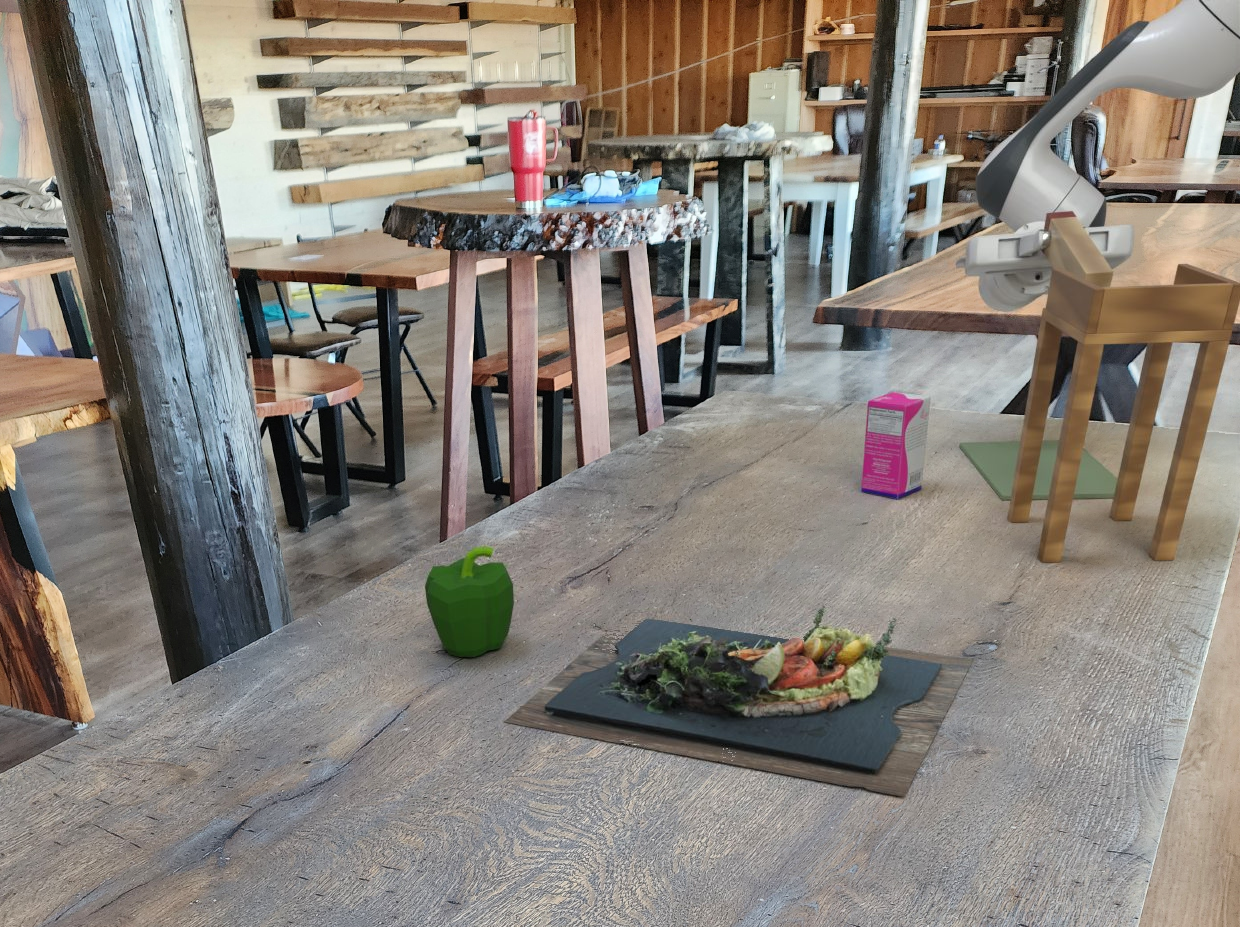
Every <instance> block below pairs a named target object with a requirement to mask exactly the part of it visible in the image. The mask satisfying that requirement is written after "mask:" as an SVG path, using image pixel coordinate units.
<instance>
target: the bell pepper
mask: <svg viewBox="0 0 1240 927" xmlns="http://www.w3.org/2000/svg"><path fill="white" fill-rule="evenodd" d="M493 552H494V547H491V546H486V545H484V546H478V547H477V546H476V547H474V548H473V549H471V550H470V551H468V552H467V553H466V554H465V556H464V557H462V558H460V559H458V560H456V561H455V562H452V563H450V564H448V565H433V566H432V567H431V569H430V571H429V573H428V575H427V578H426V581H425V584H424V591H425V592H424V593H425V596H426V597H425V598H426V606H427V607H428V612H429V614H430V617H431V620H432V623H433V625H434V628H435V630H436V634H437V635H438V638H439V640H440V643H441V644H442V645H443V648H444V649H445V650H446V651H447V653H448V654H449V655H452V656H455V657H459V658H475V657H478V656H481V655H483V654H486V652H488V651H494V650H499V649H501V648H502V647H503V645H504V643H505V642H506V639H507V637H508V636H509V631H510V628H511V624H512V622H511V621H512V617H513V613H514V612H513V611H514V606H515V605H514V604H515V595H514V583H513V581H512V578H511V576H510V574H509V572H508V570H507V568H506V565H505V564H504V562H487V563H484V564H481V565H480V564H478V563H477V562H475V561H476V560H477V559H478V558H479V557H486V558H489V559H491V558H492V555H493Z"/></svg>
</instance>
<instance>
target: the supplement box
mask: <svg viewBox="0 0 1240 927" xmlns="http://www.w3.org/2000/svg"><path fill="white" fill-rule="evenodd" d="M931 399H932V397H931V396H930V395H922V394H913V393H912V394H911V393H904V392H898V391H891V392H889V393H887V394H883V395H881V396H877V397H875V398H872V399H870V400H868V401H867V407H866V408H867V409H866V410H867V411H866V423H865V425H866V426H865V435H864V438H865V439H864V449H863V450H864V451H863V452H864V453H863V462H862V476H861V477H862V478H861V489H860V492H862V493H865V494H870V495H874V494H875V495H876V496H880V497H886V498H890V499H894V500H900V499H902V498H904V497H906V496H909V495H911V494H913V493H916V492H918V491H921V490H922V489H923V477H924V476H923V475H924V467H925V456H926V447H927V437H928V428H929V418H930V417H929V416H930V409H931Z"/></svg>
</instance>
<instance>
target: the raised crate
mask: <svg viewBox="0 0 1240 927" xmlns="http://www.w3.org/2000/svg"><path fill="white" fill-rule="evenodd" d="M1045 303H1046V304H1045V307H1043V308H1042V311H1041V317H1040V323H1039V329H1038V335H1037V340H1036V346H1035V352H1034V356H1033V357H1034V358H1033V362H1032V369H1031V370H1032V371H1031V375H1030V380H1029V381H1030V383H1029V387H1028V393H1027V398H1026V404H1025V411H1024V417H1023V422H1022V430H1021V435H1020V440H1019V441H1020V445H1019V451H1018V457H1017V463H1016V469H1015V475H1014V481H1013V487H1012V492H1011V498H1010V500H1009V503H1008V504H1009V505H1008V509H1007V510H1008V511H1007V516H1006V517H1007V519H1008V520H1009V522H1010V523H1029V518H1030V513H1031V508H1032V501H1033V500H1032V497H1033V491H1034V486H1035V480H1036V475H1037V469H1038V464H1039V458H1040V453H1041V447H1042V442H1043V441H1044V436H1045V429H1046V424H1047V420H1048V419H1047V418H1048V414H1049V409H1050V402H1051V396H1052V391H1053V387H1054V380H1055V375H1056V369H1057V363H1058V358H1059V352H1060V347H1061V341H1062V336H1063V333H1064V334H1066V335H1067V336H1069V337H1070V338H1073V339H1074V340H1075V341H1077V344H1076V349H1075V354H1074V359H1073V364H1072V365H1073V366H1072V371H1071V375H1070V380H1069V381H1070V382H1069V386H1068V392H1067V397H1066V402H1065V407H1064V413H1063V418H1062V424H1061V429H1060V434H1059V439H1058V440H1059V444H1058V449H1057V455H1056V460H1055V465H1054V471H1053V476H1052V481H1051V487H1050V492H1049V497H1048V499H1047V503H1046V508H1045V509H1046V510H1045V514H1044V519H1043V524H1042V530H1041V534H1040V540H1039V541H1040V542H1039V546H1038V551H1037V558H1038V559H1039V560H1040V562H1041V563H1061V561H1062V556H1063V551H1064V546H1065V541H1066V536H1067V531H1068V527H1069V526H1068V525H1069V521H1070V516H1071V511H1072V506H1073V505H1072V504H1073V501H1074V499H1073V497H1074V492H1075V487H1076V482H1077V477H1078V472H1079V467H1080V462H1081V457H1082V452H1083V448H1084V447H1085V441H1086V437H1087V436H1086V435H1087V432H1088V427H1089V421H1090V416H1091V411H1092V406H1093V403H1094V402H1093V401H1094V397H1095V391H1096V386H1097V381H1098V376H1099V371H1100V366H1101V362H1102V356H1103V351H1104V346H1105V345H1127V344H1131V345H1132V344H1146V347H1145V351H1144V352H1145V353H1144V356H1143V362H1142V366H1141V371H1140V375H1139V380H1138V384H1137V388H1136V393H1135V398H1134V403H1133V407H1132V411H1131V416H1130V421H1129V425H1128V430H1127V433H1126V434H1127V435H1126V439H1125V442H1124V447H1123V453H1122V456H1121V461H1120V466H1119V470H1118V475H1117V478H1118V479H1117V484H1116V488H1115V493H1114V498H1112V502H1111V507H1110V512H1109V517H1110V518H1111V519H1112V520H1113V521H1116V522H1117V521H1122V522H1123V521H1132V520H1133V516H1134V513H1135V512H1134V511H1135V508H1136V502H1137V498H1138V494H1139V490H1140V486H1141V481H1142V477H1143V472H1144V469H1145V464H1146V460H1147V455H1148V451H1149V446H1150V443H1151V438H1152V434H1153V431H1154V430H1153V429H1154V425H1155V421H1156V417H1157V412H1158V408H1159V404H1160V399H1161V394H1162V390H1163V387H1164V382H1165V376H1166V372H1167V370H1168V364H1169V360H1170V355H1171V352H1172V347H1173V343H1193V342H1195V343H1196V342H1200V343H1199V347H1198V352H1197V356H1196V360H1195V364H1194V367H1193V372H1192V376H1191V379H1190V384H1189V389H1188V392H1187V398H1186V400H1185V404H1184V409H1183V413H1182V417H1181V422H1180V426H1179V429H1178V434H1177V438H1176V442H1175V446H1174V450H1173V453H1172V454H1173V455H1172V458H1171V461H1170V462H1171V463H1170V466H1169V470H1168V474H1167V479H1166V482H1165V487H1164V491H1163V495H1162V500H1161V504H1160V508H1159V511H1158V516H1157V520H1156V524H1155V528H1154V532H1153V536H1152V540H1151V544H1150V548H1149V552H1148V555H1149V556H1150V557H1151V558H1152V560H1154V561H1174V559H1175V556H1176V553H1177V548H1178V544H1179V541H1180V536H1181V533H1182V530H1183V525H1184V521H1185V517H1186V515H1187V514H1186V513H1187V510H1188V505H1189V501H1190V497H1191V494H1192V490H1193V486H1194V482H1195V478H1196V474H1197V470H1198V467H1199V462H1200V459H1201V455H1202V451H1203V447H1204V443H1205V439H1206V435H1207V431H1208V428H1209V424H1210V419H1211V415H1212V413H1213V412H1212V411H1213V407H1214V404H1215V400H1216V397H1217V392H1218V388H1219V384H1220V380H1221V377H1222V372H1223V369H1224V365H1225V360H1226V358H1227V353H1228V349H1229V345H1230V341H1231V338H1232V334H1233V329H1234V326H1235V322H1236V317H1237V314H1238V310H1239V307H1240V281H1236V280H1233V279H1230V278H1228V277H1225V276H1223V275H1220V274H1216V273H1214V272H1212V271H1208V270H1206V269H1203V268H1200V267H1197V266H1194V265H1191V264H1189V263H1178V264H1177V267H1176V271H1175V276H1174V279H1173V284H1159V285H1158V284H1157V285H1156V284H1155V285H1154V284H1153V285H1127V286H1125V285H1124V286H1110V287H1099V286H1097V285H1095V284H1093V283H1091V282H1089V281H1087V280H1085V279H1083V278H1081V277H1079V276H1077V275H1075V274H1073V273H1070V272H1068V271H1066V270H1064V269H1062V268H1053V269H1052V274H1051V280H1050V285H1049V291H1048V294H1047V297H1046V302H1045Z"/></svg>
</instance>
